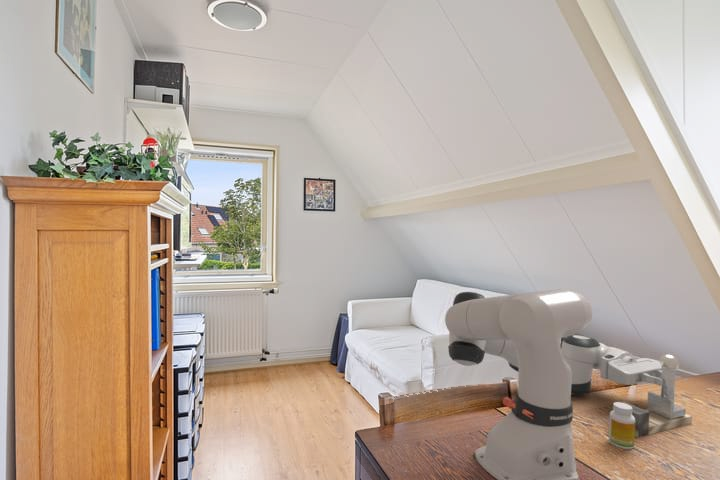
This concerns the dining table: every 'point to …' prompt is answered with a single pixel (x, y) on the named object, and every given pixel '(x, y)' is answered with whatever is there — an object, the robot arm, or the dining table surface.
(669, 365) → the press slide
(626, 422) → the supplement bottle
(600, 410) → the dining table surface
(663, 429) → the press base
